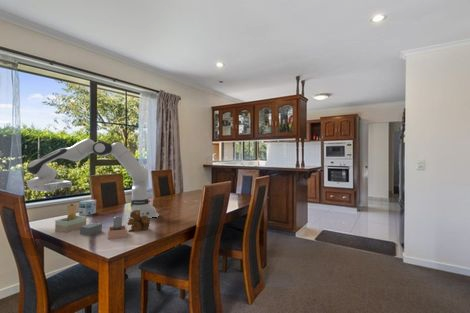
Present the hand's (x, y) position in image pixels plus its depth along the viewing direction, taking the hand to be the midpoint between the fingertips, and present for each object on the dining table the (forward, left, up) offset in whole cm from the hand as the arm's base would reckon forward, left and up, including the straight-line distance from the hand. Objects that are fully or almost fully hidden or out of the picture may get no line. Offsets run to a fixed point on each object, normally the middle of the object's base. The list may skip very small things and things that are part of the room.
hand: (64, 185), depth 161 cm
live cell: (-6, +8, -23) cm, 25 cm away
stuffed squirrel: (-45, +27, -27) cm, 59 cm away
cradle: (-18, +23, -27) cm, 40 cm away
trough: (-6, +8, -27) cm, 29 cm away
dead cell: (-32, +35, -26) cm, 54 cm away
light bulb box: (-12, -33, -27) cm, 44 cm away
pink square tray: (-32, +35, -27) cm, 54 cm away
